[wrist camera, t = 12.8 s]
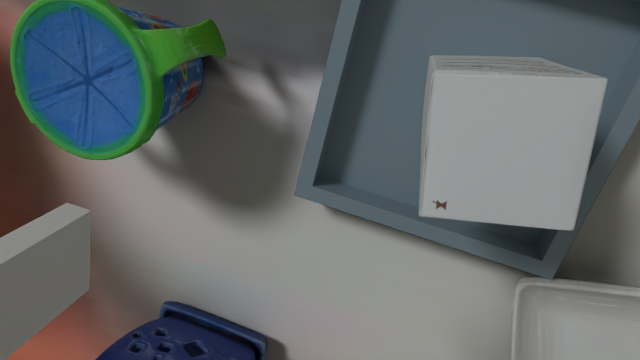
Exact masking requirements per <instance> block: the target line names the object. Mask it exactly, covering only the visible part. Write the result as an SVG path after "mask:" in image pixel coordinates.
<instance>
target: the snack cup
mask: <svg viewBox="0 0 640 360" xmlns="http://www.w3.org/2000/svg"><path fill="white" fill-rule="evenodd" d="M207 55H214V56H217V57H219V58H224V57H225V56H226V50H225V46H224V42H223V40H222V38H221V35H220V33H219V30H218V28H217V26H216V24H215V23H214V21H212V20H211V19H207V20H205V21H203V22H202V23H200V24H197V25H194V26H190V27H185V28H181V27H179V26H177V25H176V24H174V23H172V22H170V21H168V20H165V19H162V18H158V17H155V16H151V15H148V14H144V13H138V12H136V11H133V10H128V9H125V8H121V7H117V6H115V5H114V4H112V3H110V2H108V1H106V0H37V1H36V2H34V3H33V4H31V5H30V6H29V7H28V8H27V9H26V10H25V12H24V13H23V14H22V16H21V17H20V19H19V20H18V22H17V25H16V27H15V29H14V33H13V37H12V41H11V48H10V63H11V72H12V77H13V81H14V85H15V88H16V92H15V94H16V95H17V98H18V100H19V102H20V104H21V106H22V108H23V110H24V112H25V114H26V115H27V117H28V119H29V120H30V122H31V123H34V124H35V125H36V126H37V127H38V128H39V129H40V131H41V132H42V133H43V134H44V135H45V136H46V137H48V138H49V139H50V140H51V141H52V142H53V143H55V144H56V145H57V146H59V147H60V148H62V149H64V150H65V151H67V152H69V153H71V154H74V155H77V156H79V157H82V158H85V159H91V160H107V159H114V158H117V157H120V156H123V155H125V154H128V153H130V152H132V151H134V150H135V149H137V148H139V147H140V146H141V145H142V144H143V143H146V142H147V141H149V140H150V138H151V137H152V136H153V134H154V133H155V131H156V130H157V129H158V128H160V127H161V126H162V125H164V124H165V123H167V122H168V121H169V120H171V119H172V118H173V117H175V116H176V115H177V114H178V113H180V112H181V111H182V110H184V109H185V108H187V107H188V106H190V104H191V103H192V102H193V101H194V100H195V99H196V97H197V96H198V95H199V93H200V89H201V86H202V81H203V62H202V57H204V56H207Z"/></svg>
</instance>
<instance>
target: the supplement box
mask: <svg viewBox="0 0 640 360" xmlns="http://www.w3.org/2000/svg"><path fill="white" fill-rule="evenodd" d="M607 83H608V79H607V78H604V77H601V76H598V75H595V74H591V73H588V72H585V71H581V70H578V69H574V68H570V67H567V66H564V65H561V64H558V63H554V62H551V61H548V60H546V59H543V58H539V57H504V56H451V55H433V56H430V57H429V63H428V70H427V78H426V87H425V95H424V105H423V119H422V136H421V165H420V189H419V216H420V217H425V218H438V219H451V220H463V221H474V222H483V223H494V224H504V225H514V226H524V227H535V228H545V229H555V230H568V231H572V230H574V227H575V224H576V219H577V215H578V211H579V207H580V203H581V199H582V194H583V190H584V185H585V181H586V176H587V172H588V168H589V163H590V159H591V154H592V150H593V146H594V141H595V137H596V132H597V128H598V123H599V118H600V114H601V109H602V105H603V100H604V96H605V91H606V87H607Z"/></svg>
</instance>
